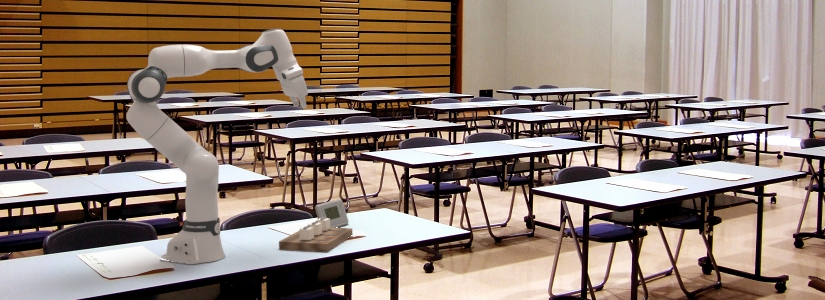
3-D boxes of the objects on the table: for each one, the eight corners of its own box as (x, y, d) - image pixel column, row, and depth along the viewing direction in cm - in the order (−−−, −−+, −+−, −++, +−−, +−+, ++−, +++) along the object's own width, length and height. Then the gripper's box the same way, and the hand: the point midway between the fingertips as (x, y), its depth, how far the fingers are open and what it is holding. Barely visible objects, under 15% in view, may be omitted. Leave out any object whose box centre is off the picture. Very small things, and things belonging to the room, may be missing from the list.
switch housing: (279, 249, 310) (278, 241, 310) (307, 233, 335) (307, 225, 334) (327, 252, 305) (327, 243, 304) (352, 235, 329) (352, 227, 329)
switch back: (316, 230, 326) (316, 218, 325) (320, 228, 329) (320, 216, 329) (326, 230, 325) (326, 219, 324) (330, 228, 328) (329, 216, 328)
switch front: (299, 239, 310) (299, 227, 310) (304, 237, 314) (303, 225, 314) (309, 240, 309) (309, 228, 309) (314, 237, 313) (313, 225, 313)
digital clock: (323, 232, 337) (322, 206, 335) (309, 229, 343) (308, 203, 342) (354, 225, 348) (353, 200, 346) (340, 222, 354) (339, 197, 353)
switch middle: (308, 234, 318) (308, 222, 317) (312, 232, 322) (312, 220, 321) (318, 235, 317) (317, 223, 316) (322, 233, 321) (321, 221, 320)
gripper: (272, 73, 313) (285, 108, 316) (287, 75, 294) (300, 112, 298) (287, 67, 315) (300, 102, 318) (303, 69, 296) (316, 105, 300)
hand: (300, 107), depth 308 cm, fingers open, 8 cm apart
